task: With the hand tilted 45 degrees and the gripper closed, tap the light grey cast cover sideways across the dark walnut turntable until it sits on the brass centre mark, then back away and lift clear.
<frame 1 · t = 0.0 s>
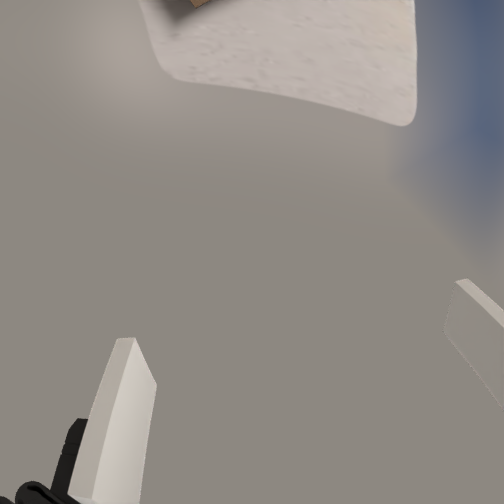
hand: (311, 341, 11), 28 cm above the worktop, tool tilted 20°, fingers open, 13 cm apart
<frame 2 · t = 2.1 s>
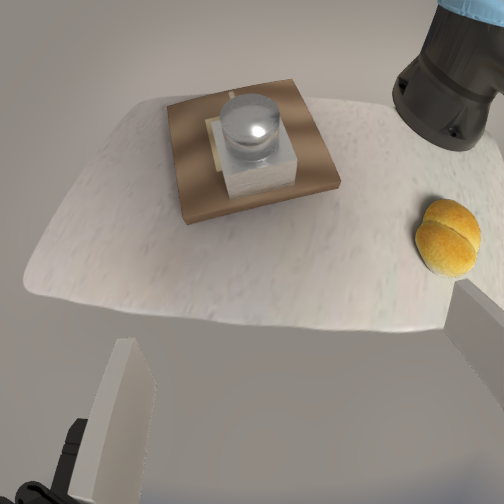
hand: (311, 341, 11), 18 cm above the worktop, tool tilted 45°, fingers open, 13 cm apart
bread roll: (443, 241, 31), on the worktop
cast cover: (254, 166, 31), point 3 cm above the worktop, touching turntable
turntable: (245, 140, 33), point 2 cm above the worktop, hinge at 0.0°, touching cast cover
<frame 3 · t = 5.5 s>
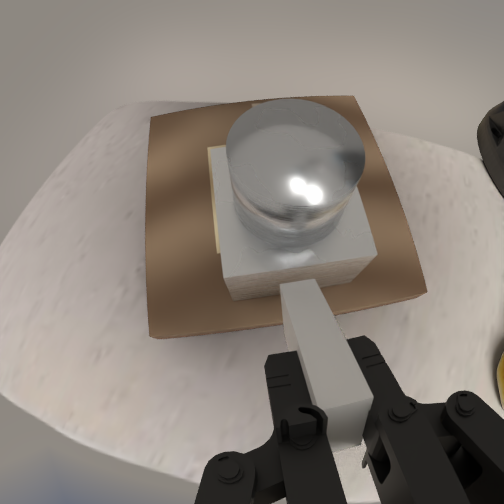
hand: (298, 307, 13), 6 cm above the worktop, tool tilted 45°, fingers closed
cast cover: (282, 237, 18), point 3 cm above the worktop
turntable: (273, 193, 20), point 2 cm above the worktop, hinge at 0.0°
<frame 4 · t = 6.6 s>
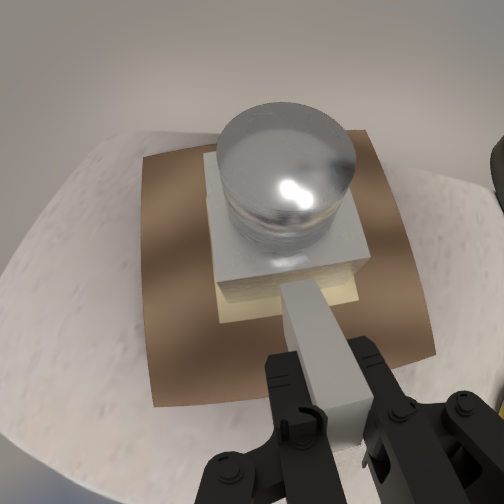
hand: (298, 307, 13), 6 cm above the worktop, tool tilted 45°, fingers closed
cast cover: (277, 239, 18), point 3 cm above the worktop, touching gripper, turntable
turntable: (278, 251, 18), point 2 cm above the worktop, hinge at 0.0°, touching cast cover
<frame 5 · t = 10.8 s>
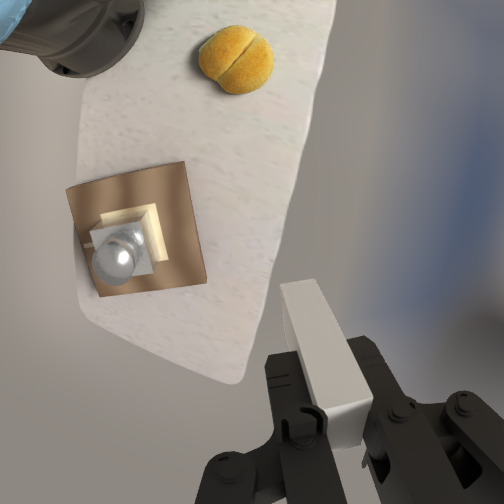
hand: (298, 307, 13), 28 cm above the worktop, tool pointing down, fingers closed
bread roll: (235, 60, 33), on the worktop
cast cover: (131, 237, 38), point 3 cm above the worktop, touching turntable
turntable: (135, 234, 38), point 2 cm above the worktop, hinge at 0.0°, touching cast cover
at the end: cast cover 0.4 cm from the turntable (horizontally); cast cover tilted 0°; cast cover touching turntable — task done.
